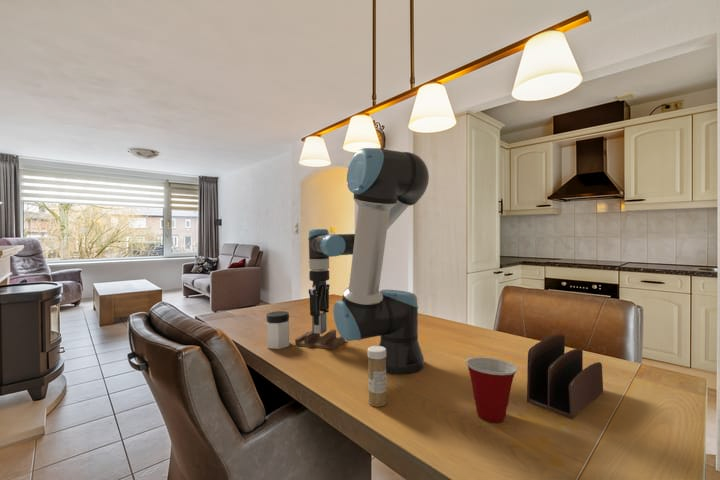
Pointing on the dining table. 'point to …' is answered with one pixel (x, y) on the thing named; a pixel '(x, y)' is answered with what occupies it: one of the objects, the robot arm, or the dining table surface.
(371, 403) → the sprinkles bottle
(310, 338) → the brown slotted rack
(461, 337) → the dining table surface
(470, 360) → the plastic cup
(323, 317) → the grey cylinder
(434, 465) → the dining table surface
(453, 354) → the dining table surface
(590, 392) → the letter holder
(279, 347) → the jar
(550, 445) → the dining table surface
